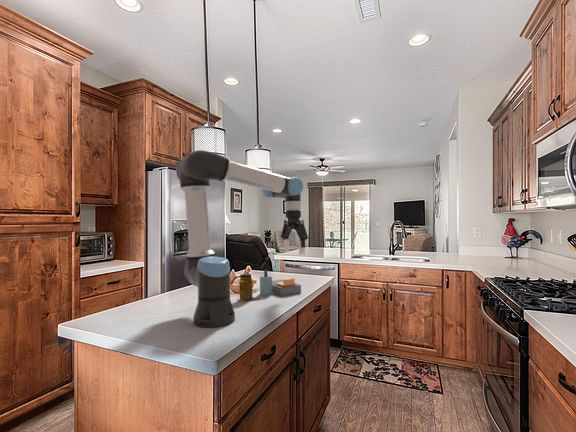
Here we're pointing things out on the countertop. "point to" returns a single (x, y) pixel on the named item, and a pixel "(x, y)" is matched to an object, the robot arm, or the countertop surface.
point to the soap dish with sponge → (285, 289)
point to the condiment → (246, 288)
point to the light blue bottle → (265, 284)
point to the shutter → (287, 282)
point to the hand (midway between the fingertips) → (294, 253)
